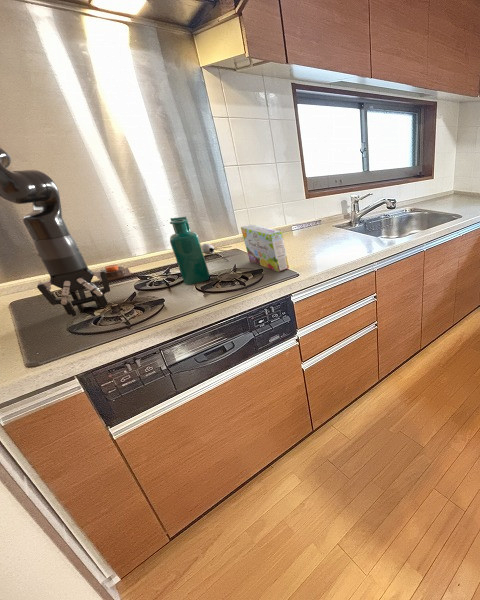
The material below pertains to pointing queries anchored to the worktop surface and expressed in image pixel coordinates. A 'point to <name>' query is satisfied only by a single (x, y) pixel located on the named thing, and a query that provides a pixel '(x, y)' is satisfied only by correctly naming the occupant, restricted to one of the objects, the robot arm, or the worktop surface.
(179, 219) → the green bottle
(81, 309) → the bracket
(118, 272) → the button box
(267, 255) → the snack box
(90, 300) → the lever
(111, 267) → the button
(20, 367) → the worktop surface
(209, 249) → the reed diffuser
